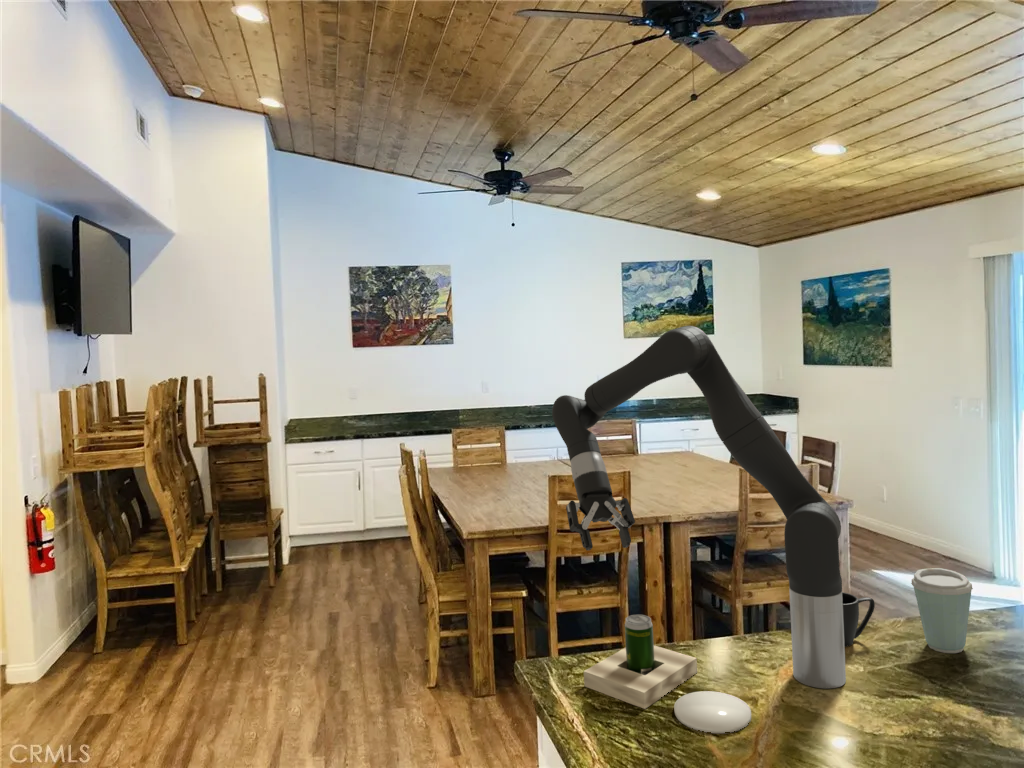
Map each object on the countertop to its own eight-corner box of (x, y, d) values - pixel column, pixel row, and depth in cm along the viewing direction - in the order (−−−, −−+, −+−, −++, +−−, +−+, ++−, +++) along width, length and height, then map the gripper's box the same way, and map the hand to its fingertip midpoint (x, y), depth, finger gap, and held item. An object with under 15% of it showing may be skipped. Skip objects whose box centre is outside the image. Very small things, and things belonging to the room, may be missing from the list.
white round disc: (698, 688, 133) (698, 684, 133) (764, 710, 124) (764, 705, 124) (660, 716, 124) (659, 712, 124) (728, 742, 115) (728, 737, 115)
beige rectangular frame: (638, 654, 149) (637, 640, 149) (697, 672, 139) (696, 658, 139) (584, 686, 137) (583, 671, 137) (644, 709, 127) (644, 692, 127)
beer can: (661, 681, 137) (658, 620, 136) (638, 688, 134) (635, 626, 134) (644, 670, 142) (641, 612, 141) (622, 677, 139) (618, 618, 139)
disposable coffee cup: (987, 657, 139) (985, 581, 138) (932, 660, 139) (929, 584, 138) (954, 635, 149) (951, 565, 149) (903, 638, 149) (900, 568, 149)
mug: (886, 647, 146) (884, 601, 145) (828, 651, 146) (826, 605, 145) (865, 631, 154) (863, 588, 154) (810, 635, 154) (809, 592, 153)
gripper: (566, 470, 149) (583, 543, 141) (626, 468, 154) (646, 538, 146) (554, 485, 155) (570, 556, 147) (612, 483, 160) (631, 552, 151)
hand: (608, 547), depth 146 cm, fingers open, 8 cm apart
